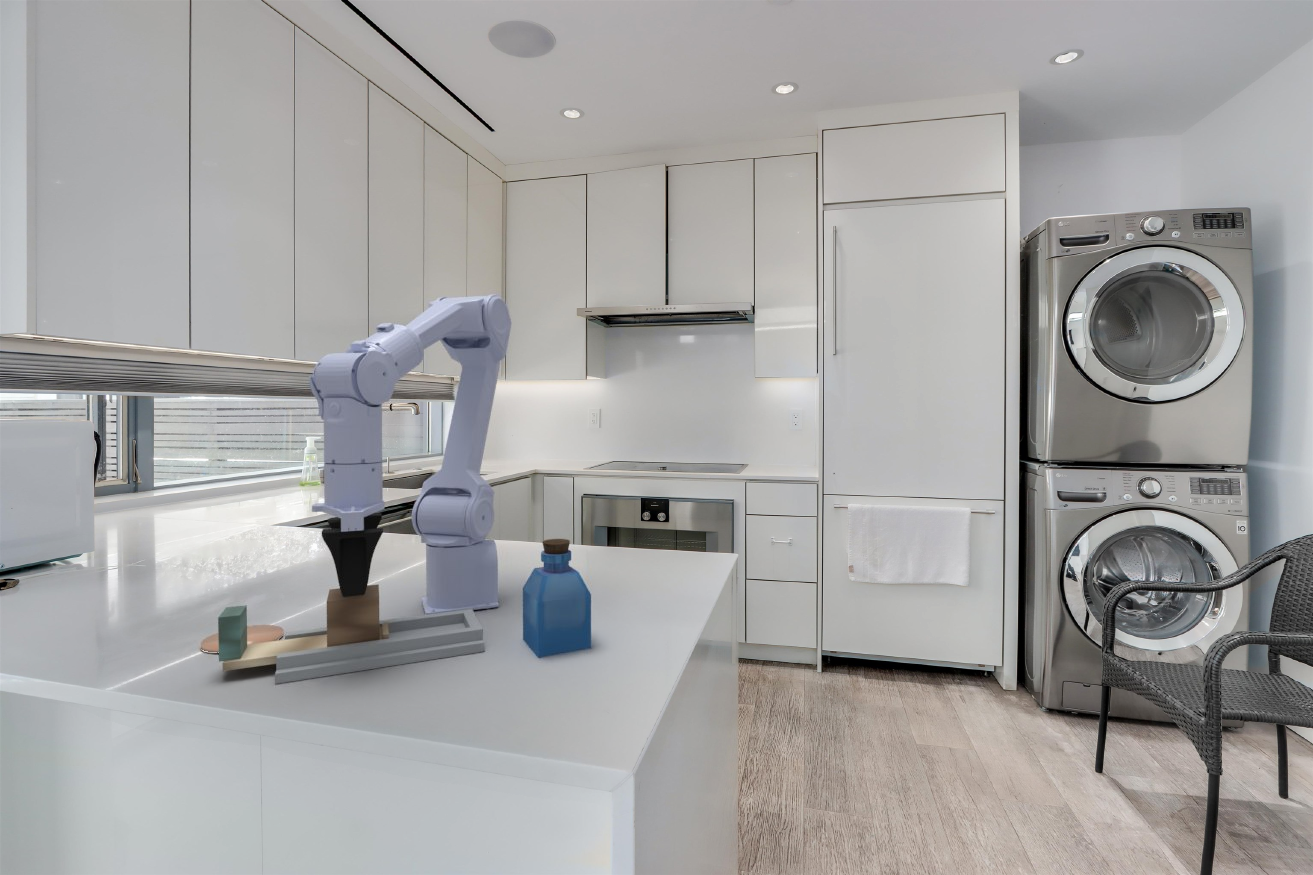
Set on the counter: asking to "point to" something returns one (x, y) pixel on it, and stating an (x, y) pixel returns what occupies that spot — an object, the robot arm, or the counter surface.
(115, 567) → the counter surface
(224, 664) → the multicoloured piece
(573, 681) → the counter surface
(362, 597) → the walnut block
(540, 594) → the perfume bottle
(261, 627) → the coaster
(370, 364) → the robot arm
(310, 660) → the lane board
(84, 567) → the counter surface
